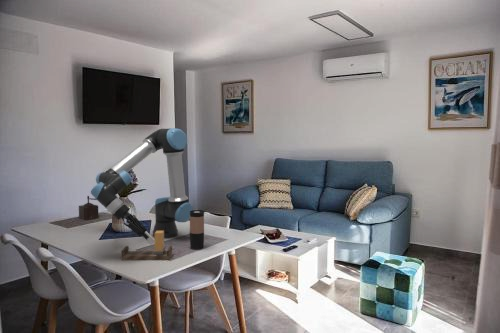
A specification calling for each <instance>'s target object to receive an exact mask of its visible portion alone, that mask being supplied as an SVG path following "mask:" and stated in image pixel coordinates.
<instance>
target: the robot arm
mask: <svg viewBox="0 0 500 333" xmlns="http://www.w3.org/2000/svg"><path fill="white" fill-rule="evenodd" d="M187 143H188V138H187V134H186V133H185V132H184V131H183V130H182V129H180V128H175V127H172V128H170V127H169V128H160V129H156V130H154V131H153V132H152V133H151V134H149V135H147V136H146V137H145V138H143V140H142V143H140V144H139V145H138V146H136V147H135V148H134V149H133V150H131V151H130V152H129V153H128V154H126V155H125V156H124V157H123V158H121V159H119V161H117V162H116V163H115V164H114V165H112V166H111V167H110V168H108V169H107V170H106V171H102V172H99V173H98V174H97V175H96V177H95V181H96V185H95V186H93V187H92V188H91V190H90V194H91V195H92V196H93V198H94V199H96V200H95V201H97V202H98V203H100V205H102V206H103V207H104V208H105V209H106V210H107V212H109V213H110V214H113V217H114V218H116V220H120V219H121V220H122V221H123V225H124V226H126V227H128V229H130V230H131V231H132V232H134V233H135V234H136V235H137V236H139V237H142V238H143V239H144V240H145V241H146V242H147V243H148V244H150V245H152V244H153V243H155V232H156V231H164V239H167V238H174V237H177V236H178V235H179V230H178V228H177V224H176V222H177V223H187V222H188V221H190V211H192V210H194V206H193V204H191V203H190V200H189V197H188V196H187V195H186V187H185V175H184V168H183V166H184V165H183V153H184V152H185V150H184V149H185V148H186V146H187V145H188V144H187ZM160 150H162V152H163V154H164V155H165V158H166V163H167V166H166V167H167V176H168V185H169V196H167V197H158V198H156V199H155V205H154V207H155V208H154V209H155V211H154V213H155V217H154V218H155V223H154V227H153V231H152V235H151V234H150V233H149V232H148V231H147V230H148V229H147V228H146V227H145V226H144V225H143V224H142V222H141V221H140V220H139V219H138V218H137V217H136V215H135V214H132V213H129V211H130V207H128V205H126V204H124V202H123V200H121V198H119V197H118V196H117V195H118V194H119V193H120V192H121V191H122V190H124V189H125V188H126V187H128V185H130V184H131V183H132V182H133V181H132V180H133V179H132V176H131V174H130V173H129V172H130V171H131V170H132V169H134V168H135V167H136V166H137V165H138V164H140V163H141V162H142V161H143V160H145V159H146V158H147V157H148V156H150V155H151V154H155V153H156V152H158V151H160Z"/></svg>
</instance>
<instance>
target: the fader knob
mask: <svg viewBox="0 0 500 333" xmlns="http://www.w3.org/2000/svg"><path fill="white" fill-rule="evenodd" d="M154 239H155V241H154V250H153V251H154V255H163V254H164V252H165V251H166V248H165V238H164V231H156V232H155V237H154Z"/></svg>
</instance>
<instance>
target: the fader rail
mask: <svg viewBox="0 0 500 333" xmlns="http://www.w3.org/2000/svg"><path fill="white" fill-rule="evenodd" d="M154 251H155V250H129V245H126V246H124V247H123V249H122V250H121V251H120V252H121V254H120V255H121V261H170V260H171V258H172V256H173V245H169V247H168V248H167V250H165V252H164V254H163V255H154Z"/></svg>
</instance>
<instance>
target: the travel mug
mask: <svg viewBox="0 0 500 333" xmlns="http://www.w3.org/2000/svg"><path fill="white" fill-rule="evenodd" d="M204 243H205V211H204V210H201V209H193V210H192V211H190V219H189V246H190V247H189V248H190V249H191V250H196V251H197V250H202V249H204V246H205V244H204Z"/></svg>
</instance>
